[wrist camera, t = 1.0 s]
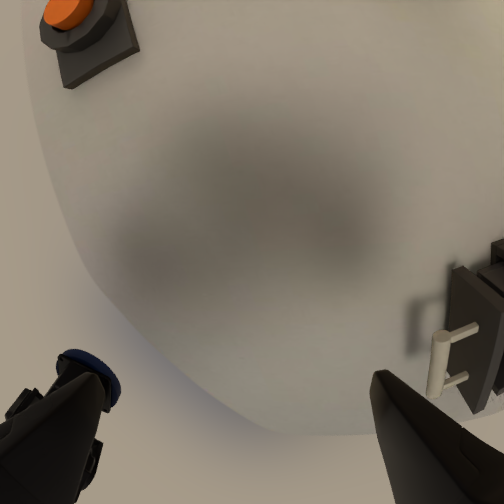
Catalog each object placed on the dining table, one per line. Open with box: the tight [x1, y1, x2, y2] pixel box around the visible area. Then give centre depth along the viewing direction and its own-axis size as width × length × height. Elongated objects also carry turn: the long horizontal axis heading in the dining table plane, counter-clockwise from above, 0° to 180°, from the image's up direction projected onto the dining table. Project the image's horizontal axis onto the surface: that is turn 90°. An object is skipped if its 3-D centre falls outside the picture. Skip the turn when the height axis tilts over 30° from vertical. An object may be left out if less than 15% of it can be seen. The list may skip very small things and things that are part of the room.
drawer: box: [426, 260, 504, 415], centre depth 17 cm, size 15×10×7 cm
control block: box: [39, 0, 140, 89], centre depth 13 cm, size 10×6×3 cm, turn 18°
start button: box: [44, 0, 94, 30], centre depth 12 cm, size 3×3×2 cm
